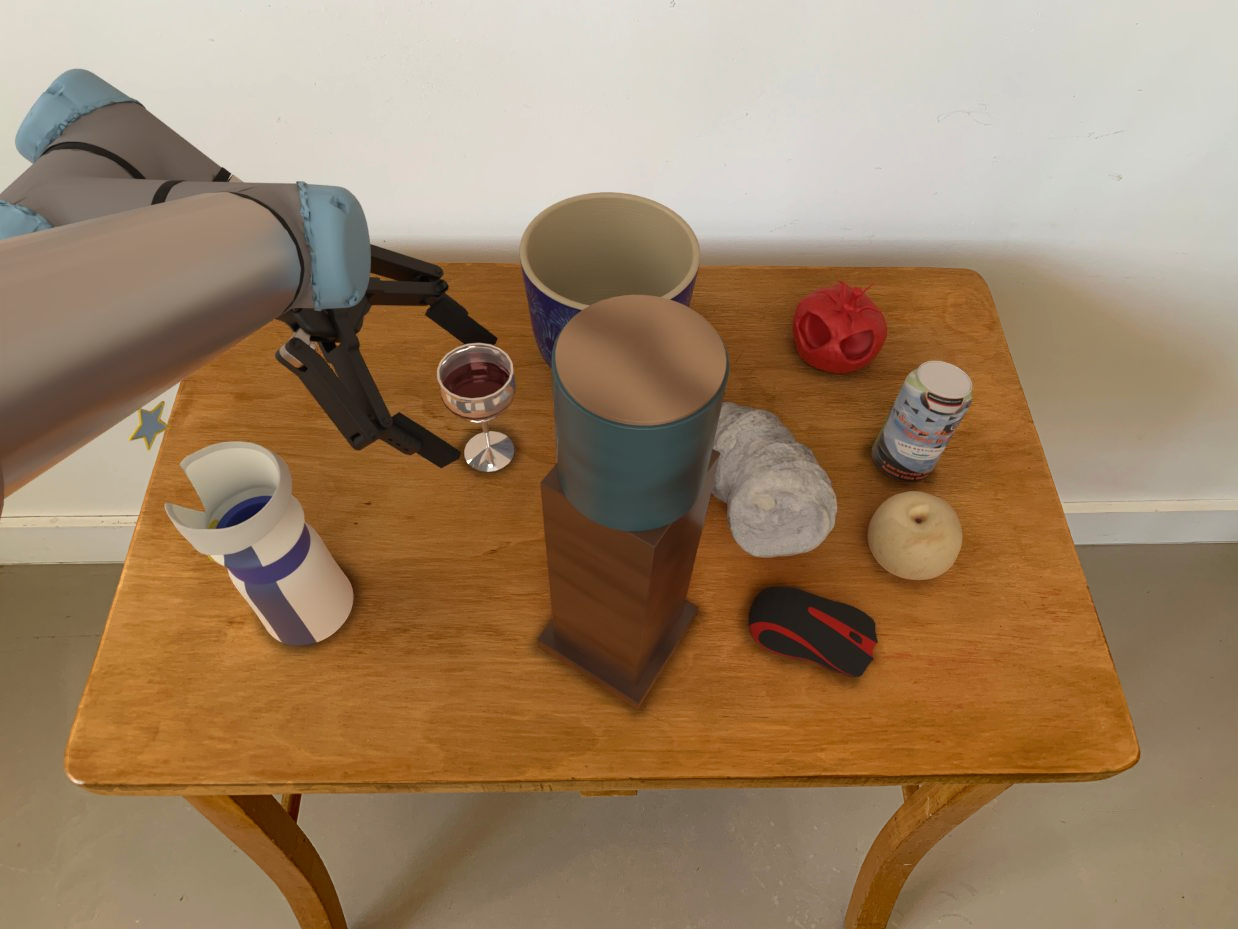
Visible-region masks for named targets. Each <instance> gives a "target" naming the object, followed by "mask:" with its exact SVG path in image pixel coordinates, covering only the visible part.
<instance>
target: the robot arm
mask: <svg viewBox="0 0 1238 929" xmlns="http://www.w3.org/2000/svg"><path fill="white" fill-rule="evenodd" d="M14 145H15V148H16V151H17V152H18V154H19V155H21V157H22V158H24V159H25V160H26V161H28V162H29V163H30V164H31V165H30V166H29V167H27V169H26V170H25V171H23V172H22V173H21V174H20V175H19V176H18V177H17V178H15V180H13V181H12V182H11V183H10V184H9V185H8V186H7V187H6V188H4V189H3V191H1V192H0V520H1V519H2V514H3V510H4V505H5V499H7V498H8V497H10V496H11V495H13V494H14V493H16V492H18V491H19V490H20V489H22V488H23V487H25V486H26V485H28V484H29V483H31V482H32V481H34V480H35V479H38V477H40V476H42V475H43V474H45V473H46V472H48V471H49V470H50V469H52V468H54V467H55V466H56V465H57V464H59V463H61V462H62V461H64V460H65V459H67V458H68V457H70V456H71V455H73V454H75V453H76V452H77V451H79V450H80V449H82V448H84V447H85V446H86V445H87V444H89V443H91V442H92V441H94V440H96V439H97V438H99V437H100V436H101V435H103V434H105V433H106V432H107V431H109V430H111V429H112V428H114V427H115V426H117V425H118V424H119V423H121V422H122V421H124V420H126V419H127V418H128V417H130V416H132V415H133V414H134V413H136V412H138V410H139V409H140V408H141V409H143V407H145V406H146V405H148V404H149V403H151V402H152V401H154V400H155V399H157V398H158V397H160V396H161V395H163V394H164V393H166V392H167V391H169V390H170V389H172V388H173V387H175V386H176V385H178V384H179V383H181V382H182V381H184V380H185V379H187V378H188V377H190V376H192V375H193V374H195V373H196V372H197V371H199V370H201V369H202V368H203V367H205V366H206V365H208V364H209V363H211V362H213V361H214V360H215V359H217V358H219V357H220V356H222V354H224V353H226V352H227V351H229V350H230V349H232V348H234V347H235V346H237V345H238V344H240V343H241V342H243V341H244V340H245V339H247V338H248V337H250V336H251V335H253V334H254V333H256V332H257V331H259V330H261V329H262V328H263V327H265V326H266V325H268V324H269V323H271V322H272V321H274V320H276V321H280V322H282V323H284V324H285V325H286V326H288V327H289V329H290V330H291V331H292V333H293V334H292V335H291V336H290V338H289V339H288V340H287V341H286V342H285V343H284V344H283V345H282V346H281V347H279V349H277V350H276V351H275V353H274V357H275V359H276V361H277V362H278V363H279V364H281V365H282V366H283V367H285V368H286V369H287V370H289V371H290V372H291V373H293V374H294V375H295V376H297V377H298V379H299V381H301V383H302V384H303V386H305V388H306V389H307V391H308V392H309V394H311V396H312V397H313V398H314V399H315V401H316V402H317V404H318V405H319V406H320V408H321V409H322V411H323V412H324V413H325V414H326V416H327V417H328V418H329V419H330V421H331V422H332V423H333V425H334V426H335V427H336V429H337V430H338V431H339V433H340V434H341V435H342V437H343V438H344V439H345V440H346V442H347V443H348V444H349V446H350V447H351V448H352V449H353V450H354V451H359V452H360V451H362V450H364V449H365V448H367V447H368V446H370V445H372V444H373V443H375V442H376V441H378V440H379V441H380V440H381V441H382V442H385V444H387V445H388V446H391V447H392V448H393V449H395V450H397V451H399V452H400V453H402V454H403V455H406V456H413V455H415V454H416V455H418V456H420V457H421V458H423V459H425V460H426V461H428V462H430V463H432V465H435V466H436V467H438V468H439V469H443V468H445V467H447V466H449V465H451V464H452V463H455V462H456V461H458V460H460V459H461V455H462V451H461V450H460V449H458V448H457V447H455V446H453V444H450V443H449V442H447V441H445V440H444V439H443V438H441V437H440V436H438V435H437V434H435V433H433V432H432V431H430V430H428V429H427V428H425V427H424V426H422V425H421V424H419V423H418V422H417V421H415V420H413V419H411V418H410V417H408V416H407V415H406V414H404V413H402V412H401V411H398V412H397V413H395V414H393V415H391V413H390V411H389V409H388V407H387V404H386V403H385V401H384V398H383V396H382V394H381V392H380V390H379V388H378V386H377V384H376V382H375V380H374V378H373V376H372V373H371V371H370V369H369V367H368V366H367V363H366V361H365V359H364V357H363V355H362V353H361V351H360V347H361V342H360V340H359V338H358V335H357V334H359V333H360V332H361V331H362V330H361V329H362V327H363V326H364V317H365V316H366V315H367V314H368V313H369V312H370V310H371V308H372V306H387V307H388V306H391V307H392V306H393V307H394V306H395V307H396V306H397V307H402V306H403V307H427V306H429V307H428V308H426V310H425V313H424V316H425V317H427V318H428V319H430V320H431V321H432V322H433V323H434V324H436V325H437V326H438V327H440V328H442V329H443V330H444V331H446V332H447V333H448V334H450V335H452V336H453V337H454V338H455V339H456V340H458V341H459V342H461V343H462V344H463V345H466V344H472V343H484V344H491V345H493V346H495V345H496V344H497V342H498V339H499V338H498V337H497V336H496V335H494V334H493V333H492V332H491V331H490V330H488V329H487V328H486V327H484V326H483V325H482V324H480V323H479V322H477V321H476V320H475V319H474V318H472V317H471V316H470V315H469V311H468V310H467V309H466V307H464V306H462V304H460V303H459V302H458V301H456V300H455V299H454V298H452V297H451V296H450V295H449V294H447V293H446V292H448V290H449V289H450V285H449V283H448V282H447V281H446V280H445V279H442V278H443V276H444V269H442V267H441V266H439V265H438V264H434V263H431V262H428V261H425V260H423V259H419V258H416V257H412V256H409V255H406V254H403V253H400V252H397V251H394V250H391V249H388V248H385V247H381V246H378V245H375V244H372V243H371V240H370V239H371V238H370V232H369V226H368V221H367V217H366V214H365V211H364V209H363V207H362V204H361V203H360V201H359V200H358V198H357V197H356V195H354V193H353V192H351V190H349V189H347V188H346V187H343V186H338V185H328V184H315V183H307V182H306V181H304V180H297V181H295V183H292V182H291V183H290V182H247V181H246V182H245V181H243V180H242V179H240V178H239V177H238V176H236V175H235V174H232V173H231V172H230V171H229V170H228V169H226V168H225V167H224V166H221V165H219V164H218V163H216V161H214V160H213V159H211V158H210V157H209V156H208V155H206V154H205V153H204V152H203V151H201V150H199V148H197V147H196V146H195V145H193V144H192V143H190V142H189V141H188V140H187V139H185V138H184V137H183V136H182V135H180V134H179V133H178V132H177V131H176V130H174V129H173V128H171V127H170V126H169V125H167V124H166V123H165V122H164V121H162V120H161V119H159V117H157V116H156V115H154V114H153V113H152V112H151V111H149V109H147V107H146V106H145V105H144V104H143V103H142V102H141V101H139V100H138V99H135V98H133V97H130V96H129V95H127V94H125V93H124V92H122V91H121V90H119V89H118V88H117V87H115V86H114V85H112V84H111V83H109V82H107V81H106V80H104V79H103V78H101V77H100V76H98V75H97V74H96V73H95V72H92V71H90V70H88V69H85V68H71V69H67V70H66V71H64V72H63V73H61V74H60V75H58V76H57V77H56V78H55V79H54V80H53V81H52V82H51V84H50V85H49V86H48V87H47V89H46V90H45V91H44V92H42V93H41V94H40V96H39V97H38V98H37V100H36V101H35V102H34V103H33V104H32V106H31V108H30V109H29V110H28V111H27V113H26V115H25V117H24V118H23V120H22V121H21V123H20V125H19V127H18V129H17V131H16V134H15V137H14ZM371 274H373V275H377V276H371ZM378 276H380V277H378ZM381 277H384V278H386V279H390V280H386V279H385V280H383V279H381ZM316 343H317V344H316ZM337 344H338V345H337ZM317 345H318V346H317ZM317 347H319V349H320V352H321V353H322V355H323V356H322V355H321V354H320V353H319V352H318V351H317ZM330 364H331V365H330ZM331 366H332V367H331ZM332 368H333V369H334V370H333V369H332Z"/></svg>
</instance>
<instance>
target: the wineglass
mask: <svg viewBox="0 0 1238 929" xmlns="http://www.w3.org/2000/svg"><path fill="white" fill-rule="evenodd" d="M513 365H514V364H513V361H512V359H511V358H510V356H509V354H508V353H507V352H505V351H504V350H503V349H501V348H500V347H497V346H495V345H491V344H484V343H472V344H466V345H465V344H463V345H460V346H456V347H455V348H454V349H452V350H450V351H449V352H447V353H446V354H445V355H444V356H443V357H442V359H441V360H440V361H439V363H438V366H437V368H436V380H437V382H438V384H439V395H440V398H441V401H442V403H443V405H444V407H445V408H446V409H447V410H449V411H450V412H451V413H452V414H453V415H454V416H455V417H456V418H458V419H461V420H462V421H465V422H471V423H480V426H481V430H482V432H480V433H477V434H476V435H474V436H473V437H471V438H470V439H469V440H468V442H467V443H466V444H465V447H464V459H465V461H466V463H467V464H468V465H469V466H470V467H471V468H472V469H474V470H477V471H480V472H486V473H487V472H488V473H489V472H496V471H498V470H501V469H503V468H504V467H506V466H507V465H509V464H510V462H511V461H512V460H513V458H514V454H515V445H514V443H513V441H512V439H511V438H510V437H509V436H508V435H506V434H504V433H502V432H500V431H494V430H489V422H490V421H492V420H495V419H497V418H499V417H500V416H502V415H503V414H504V413H506V412H507V410H508V409H509V408H510V407H511V405H512V403H513V401H514V398H515V394H516V390H517V384H516V377H515V374H514V366H513Z"/></svg>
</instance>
